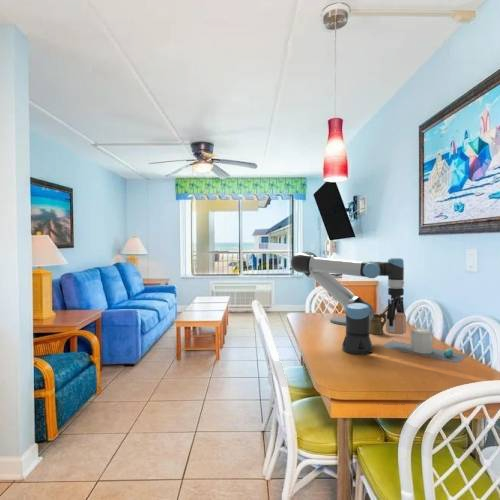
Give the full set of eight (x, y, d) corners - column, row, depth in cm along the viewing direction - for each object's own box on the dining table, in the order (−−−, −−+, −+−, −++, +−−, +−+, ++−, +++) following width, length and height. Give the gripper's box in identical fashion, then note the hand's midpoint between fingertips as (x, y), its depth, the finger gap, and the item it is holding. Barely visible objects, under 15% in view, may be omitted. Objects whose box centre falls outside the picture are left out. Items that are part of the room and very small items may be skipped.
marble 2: (452, 356, 161) (452, 350, 161) (445, 355, 163) (445, 349, 163) (454, 355, 163) (454, 349, 163) (447, 353, 166) (447, 347, 165)
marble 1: (449, 358, 159) (449, 352, 159) (442, 357, 161) (442, 350, 161) (451, 357, 161) (451, 350, 161) (444, 355, 163) (444, 349, 163)
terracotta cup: (401, 335, 173) (401, 315, 173) (383, 332, 180) (383, 313, 180) (408, 332, 180) (408, 313, 180) (391, 329, 186) (391, 310, 186)
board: (457, 366, 152) (457, 363, 152) (379, 349, 178) (379, 346, 178) (467, 358, 163) (467, 355, 163) (392, 343, 189) (392, 340, 189)
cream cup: (428, 354, 164) (428, 333, 164) (408, 350, 171) (408, 330, 171) (434, 350, 171) (434, 330, 171) (415, 346, 177) (415, 327, 177)
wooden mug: (391, 335, 205) (392, 305, 205) (368, 334, 209) (368, 304, 208) (389, 332, 214) (390, 303, 213) (367, 330, 217) (367, 302, 217)
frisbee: (329, 319, 252) (329, 315, 252) (368, 320, 247) (368, 317, 247) (331, 325, 232) (331, 321, 232) (372, 327, 227) (372, 323, 227)
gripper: (394, 290, 169) (394, 335, 170) (411, 286, 185) (411, 328, 185) (379, 288, 175) (379, 332, 175) (397, 285, 190) (397, 325, 190)
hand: (395, 330), depth 180 cm, fingers closed on terracotta cup, 9 cm apart
